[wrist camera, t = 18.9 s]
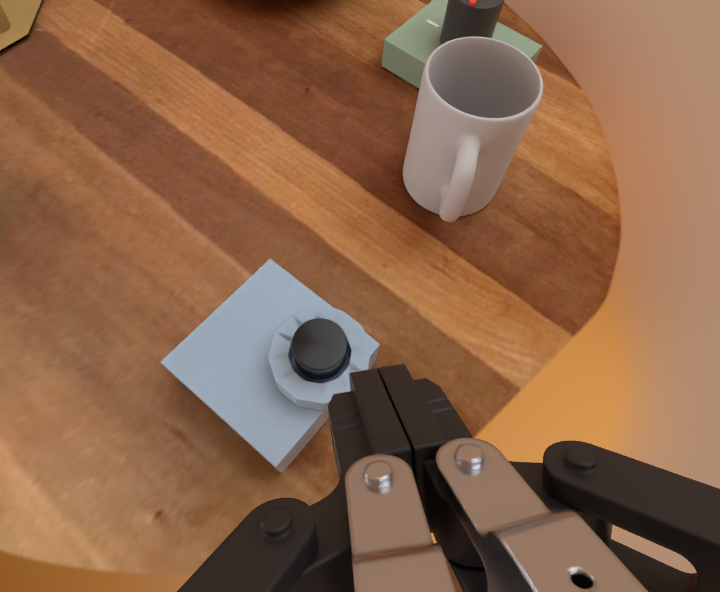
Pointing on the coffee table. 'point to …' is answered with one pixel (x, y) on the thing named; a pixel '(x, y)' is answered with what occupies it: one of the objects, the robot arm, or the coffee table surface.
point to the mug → (468, 123)
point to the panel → (434, 42)
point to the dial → (470, 19)
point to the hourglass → (16, 19)
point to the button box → (267, 363)
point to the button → (319, 348)
